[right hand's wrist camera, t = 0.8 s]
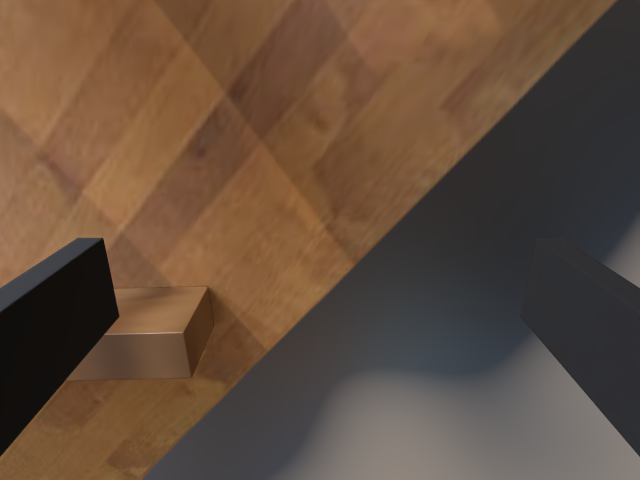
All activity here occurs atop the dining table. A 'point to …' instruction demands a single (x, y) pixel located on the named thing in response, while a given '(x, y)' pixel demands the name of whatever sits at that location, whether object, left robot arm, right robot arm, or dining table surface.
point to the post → (151, 336)
